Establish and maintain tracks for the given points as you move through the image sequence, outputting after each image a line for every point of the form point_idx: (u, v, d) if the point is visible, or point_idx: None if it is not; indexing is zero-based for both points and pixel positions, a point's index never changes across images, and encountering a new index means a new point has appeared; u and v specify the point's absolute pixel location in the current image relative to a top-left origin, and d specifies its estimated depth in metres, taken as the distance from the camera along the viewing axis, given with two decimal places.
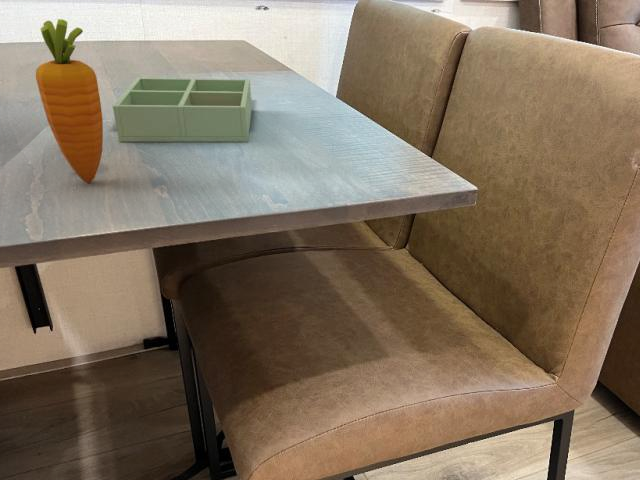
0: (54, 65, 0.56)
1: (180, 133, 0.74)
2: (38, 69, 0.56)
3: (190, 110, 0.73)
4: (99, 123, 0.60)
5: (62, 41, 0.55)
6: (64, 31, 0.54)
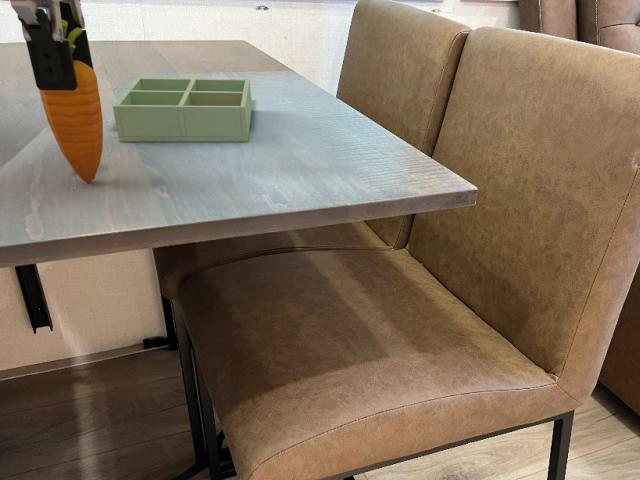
0: None
1: (180, 133, 0.74)
2: None
3: (190, 110, 0.73)
4: (99, 123, 0.60)
5: None
6: (64, 31, 0.54)
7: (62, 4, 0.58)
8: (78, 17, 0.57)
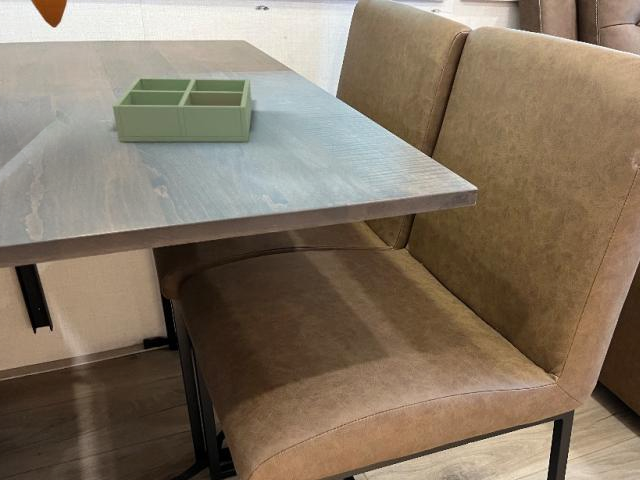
0: None
1: (180, 133, 0.74)
2: None
3: (190, 110, 0.73)
4: None
5: None
6: None
7: None
8: None
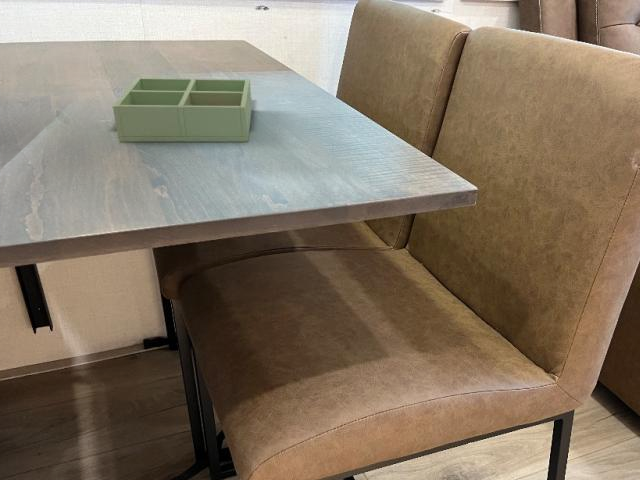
0: None
1: (180, 133, 0.74)
2: None
3: (190, 110, 0.73)
4: None
5: None
6: None
7: None
8: None
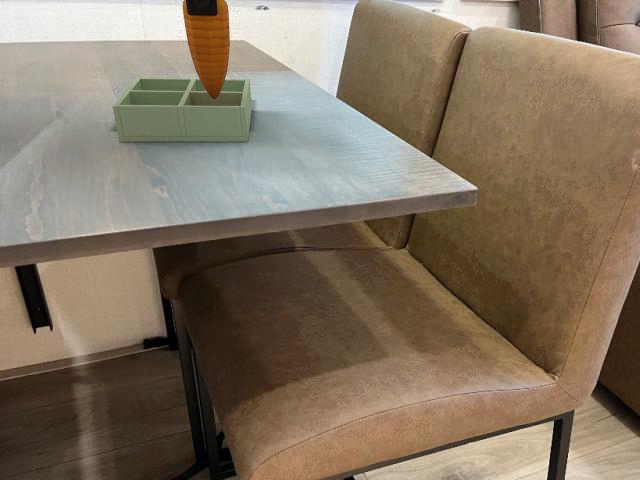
0: None
1: (180, 133, 0.74)
2: (185, 0, 0.70)
3: (190, 110, 0.73)
4: (228, 47, 0.74)
5: None
6: None
7: None
8: None
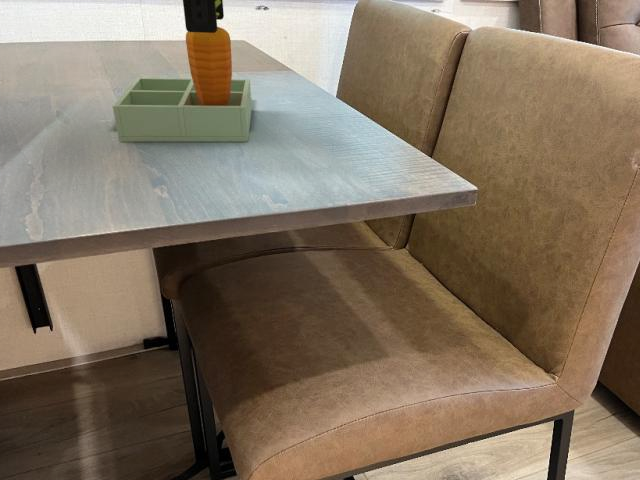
0: None
1: (180, 133, 0.74)
2: (188, 32, 0.72)
3: (190, 110, 0.73)
4: (230, 76, 0.75)
5: None
6: None
7: None
8: None
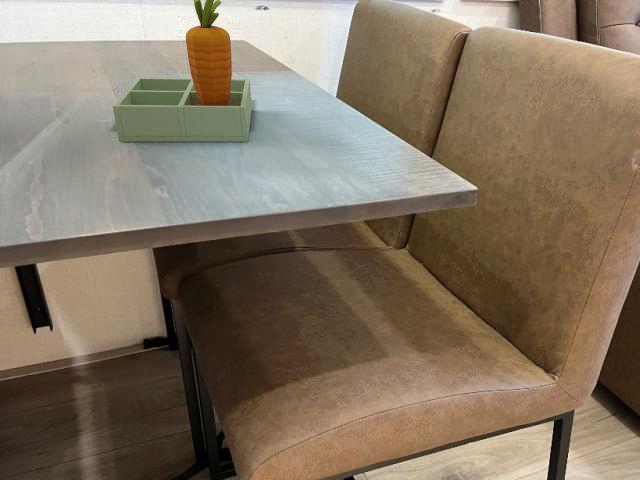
0: (202, 29, 0.71)
1: (180, 133, 0.74)
2: (188, 32, 0.72)
3: (190, 110, 0.73)
4: (230, 76, 0.75)
5: (210, 10, 0.71)
6: (212, 2, 0.70)
7: None
8: None
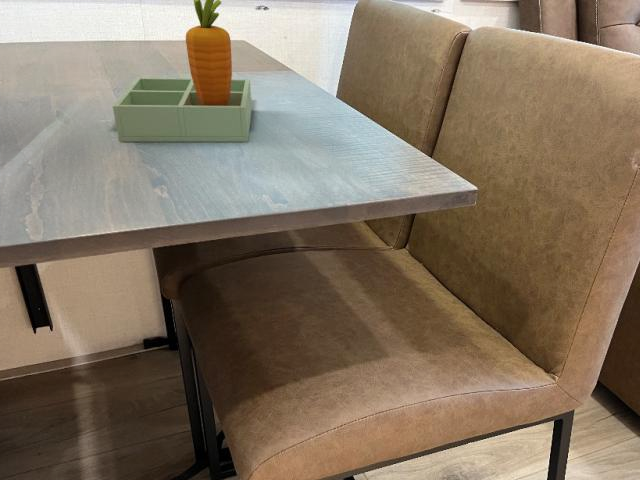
0: (202, 29, 0.71)
1: (180, 133, 0.74)
2: (188, 32, 0.72)
3: (190, 110, 0.73)
4: (230, 76, 0.75)
5: (210, 10, 0.71)
6: (212, 2, 0.70)
7: None
8: None
